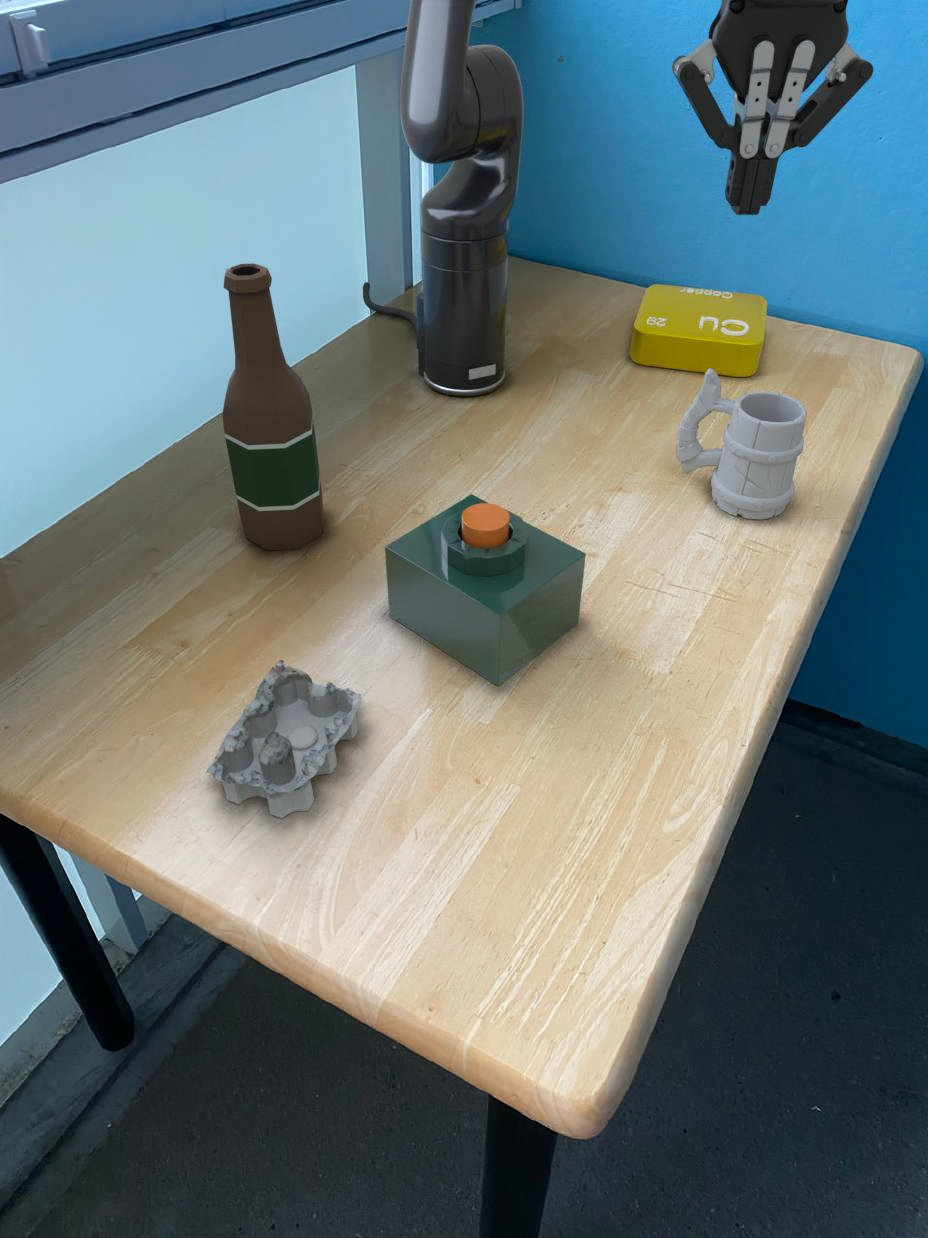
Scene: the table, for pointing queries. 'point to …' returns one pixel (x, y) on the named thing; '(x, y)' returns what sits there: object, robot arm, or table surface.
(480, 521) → the orange button
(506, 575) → the green button block
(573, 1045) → the table surface
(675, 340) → the element tile
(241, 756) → the egg carton
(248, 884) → the table surface
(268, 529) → the beer bottle
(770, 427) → the mug
